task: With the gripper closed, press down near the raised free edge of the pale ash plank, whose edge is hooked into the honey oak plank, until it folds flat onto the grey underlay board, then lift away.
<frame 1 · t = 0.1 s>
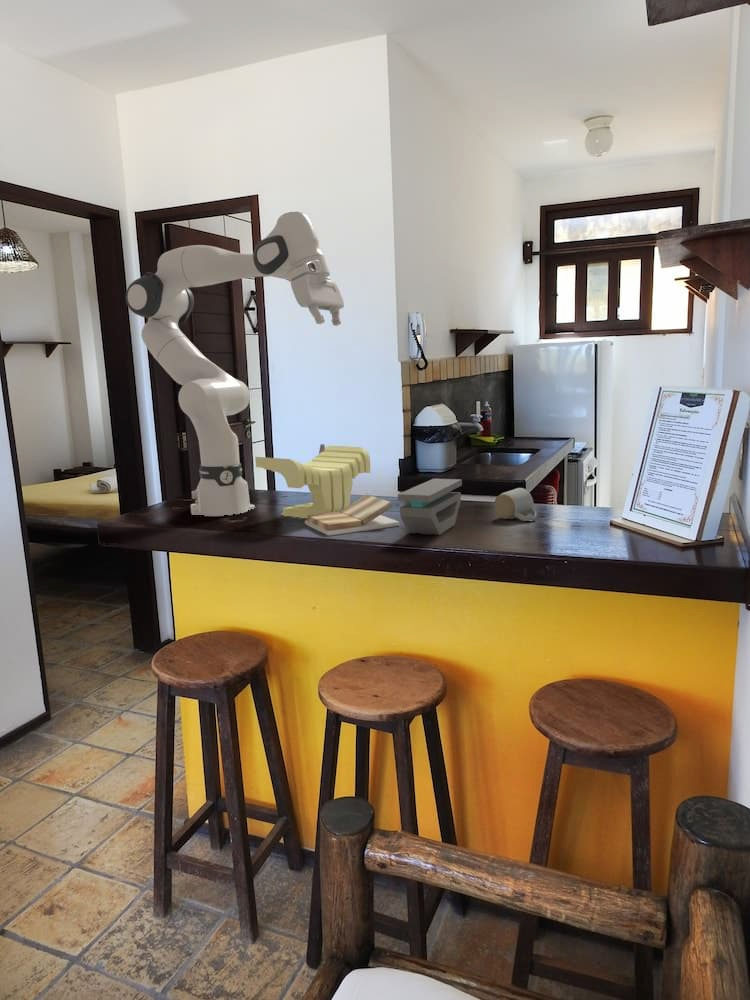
hand: (329, 324, 185), 52 cm above the countertop, tool tilted 20°, fingers open, 8 cm apart
underlay board: (351, 524, 186), on the countertop
squeeze bottle: (325, 502, 220), on the countertop
ash plank: (365, 509, 187), point 4 cm above the countertop, hinge at 25.0°
oak plank: (334, 527, 184), resting on underlay board
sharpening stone: (432, 529, 179), on the countertop
yellow ribbed sculpture: (317, 514, 202), on the countertop
ceramic mug: (517, 519, 188), on the countertop
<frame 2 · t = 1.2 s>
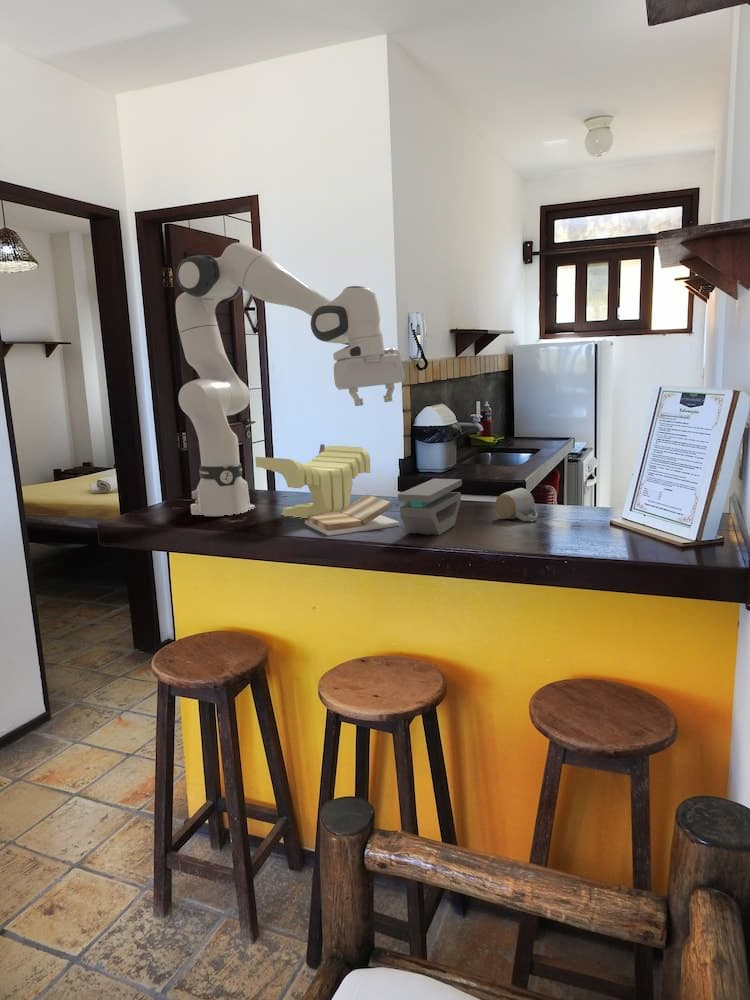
hand: (374, 403, 184), 31 cm above the countertop, tool pointing down, fingers open, 8 cm apart
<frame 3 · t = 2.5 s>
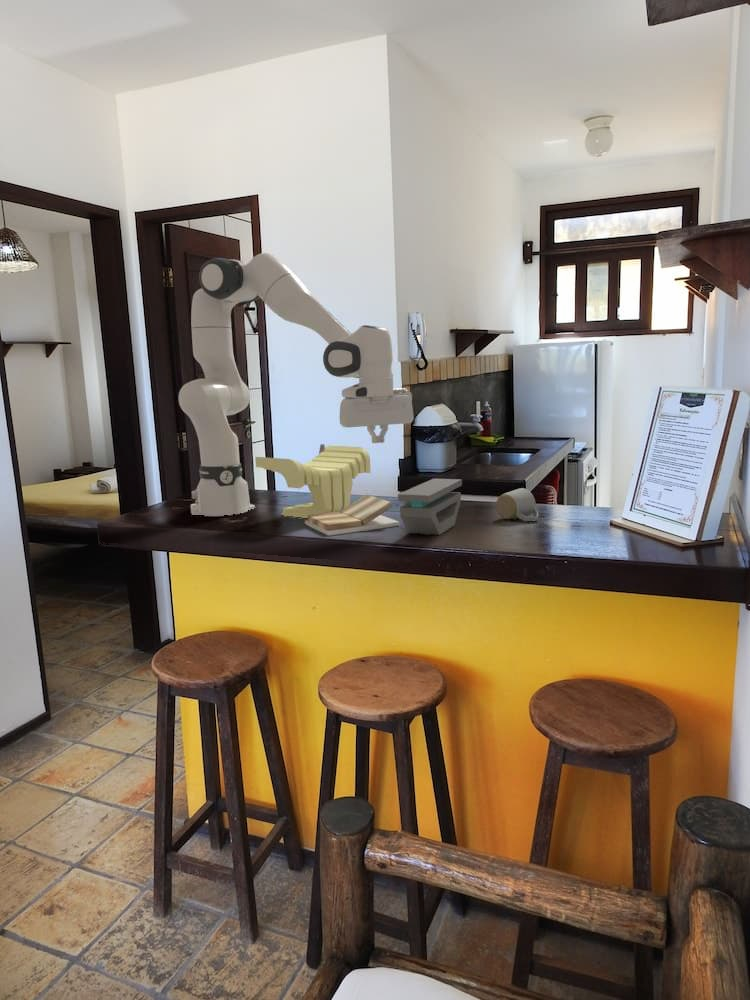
hand: (378, 442, 186), 21 cm above the countertop, tool pointing down, fingers closed
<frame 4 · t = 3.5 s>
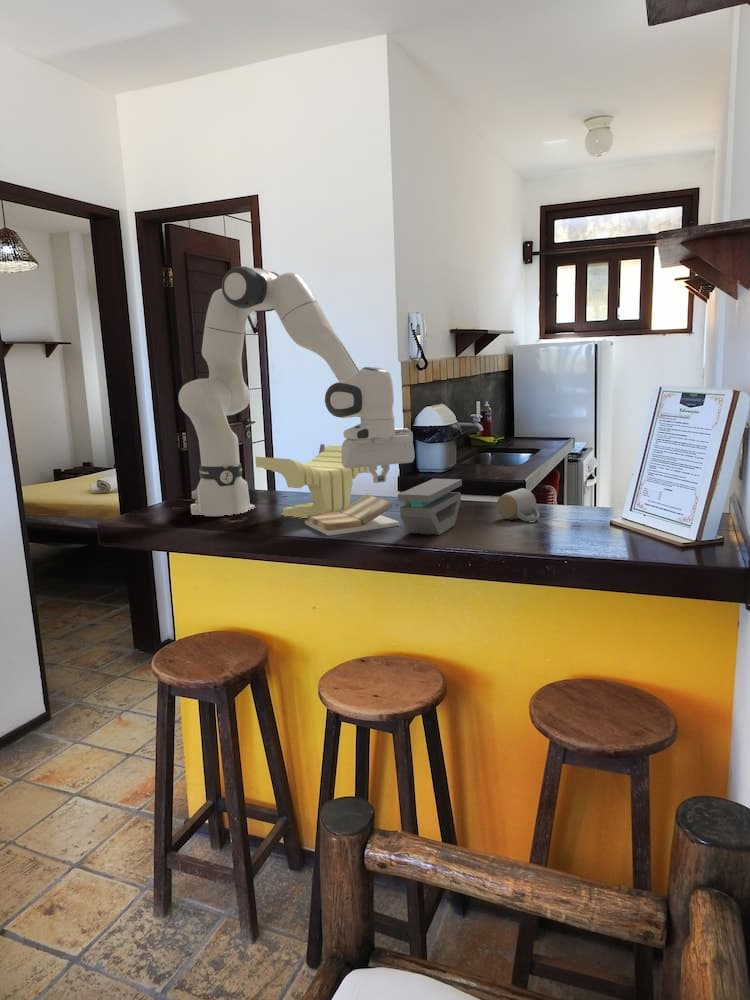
hand: (379, 482, 188), 11 cm above the countertop, tool pointing down, fingers closed
nothing on the countertop moved.
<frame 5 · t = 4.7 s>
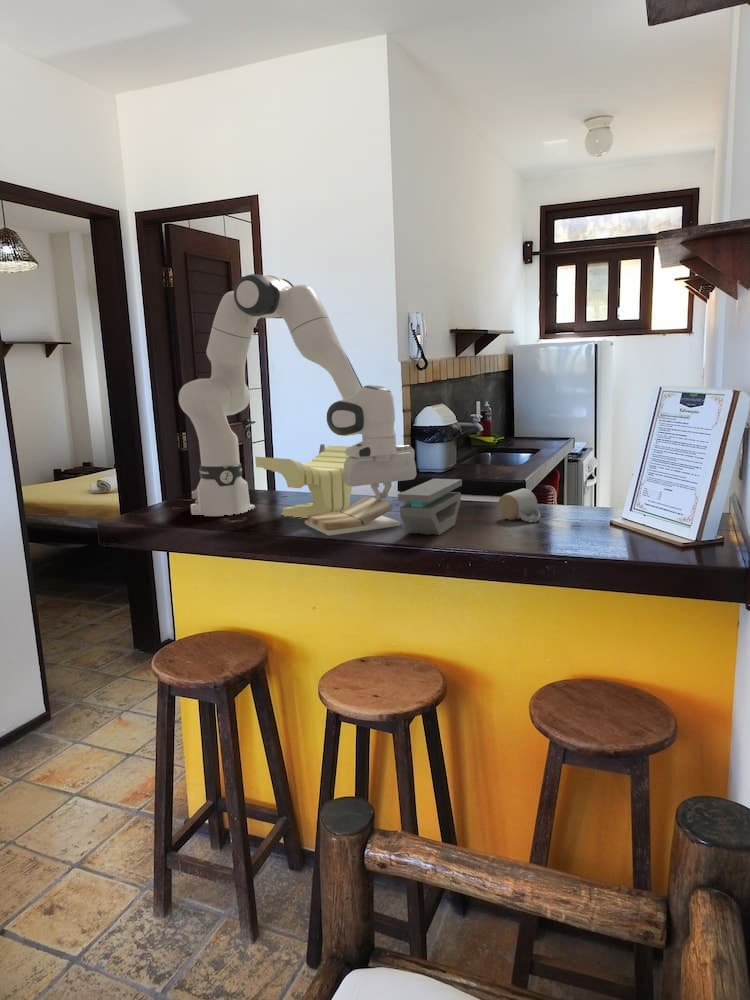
hand: (381, 499, 189), 6 cm above the countertop, tool pointing down, fingers closed
ash plank: (366, 509, 187), point 4 cm above the countertop, hinge at 21.9°, touching gripper
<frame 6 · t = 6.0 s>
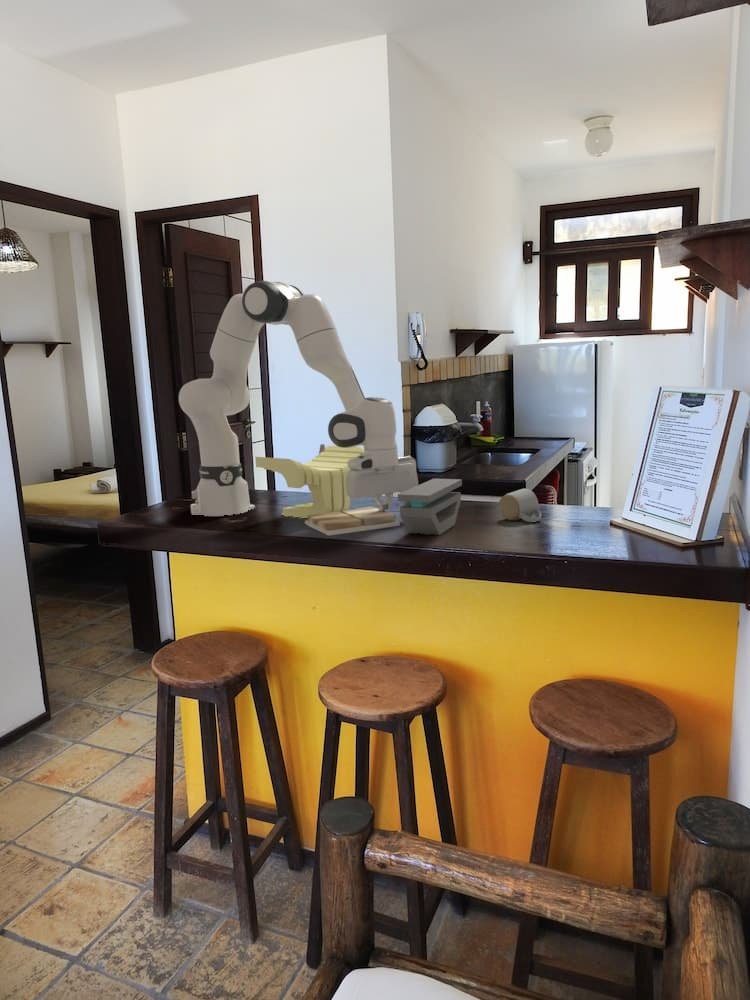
hand: (384, 510, 190), 3 cm above the countertop, tool pointing down, fingers closed, pressing on ash plank
ash plank: (368, 515, 188), point 2 cm above the countertop, hinge at 1.6°, touching gripper
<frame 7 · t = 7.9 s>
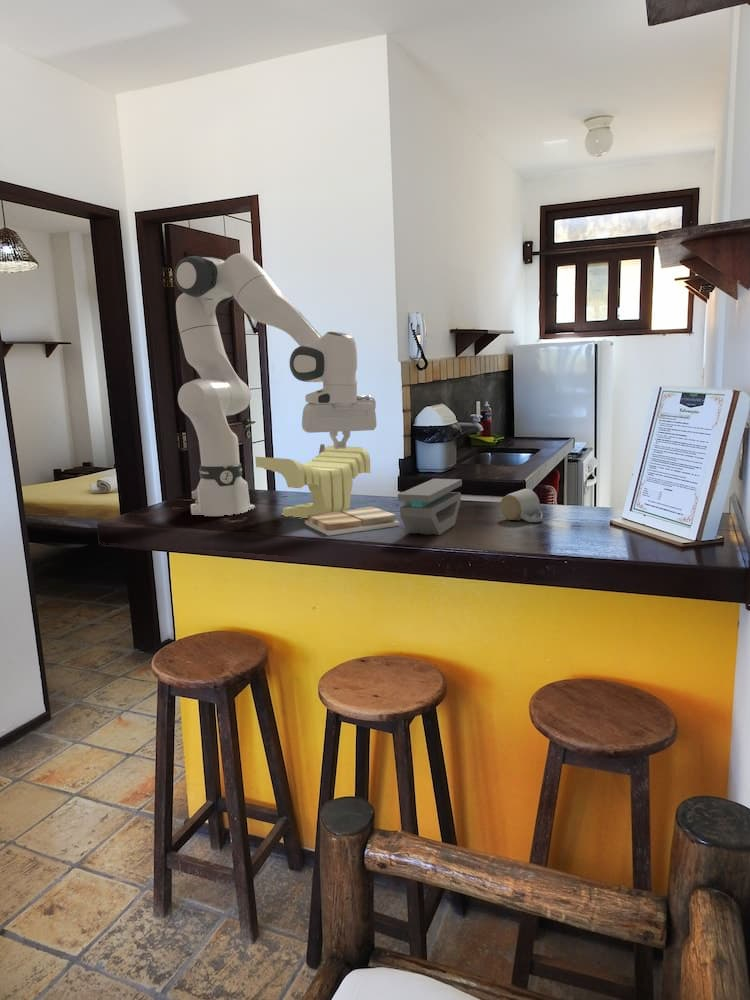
hand: (339, 448, 188), 20 cm above the countertop, tool pointing down, fingers closed
ash plank: (368, 515, 188), point 2 cm above the countertop, hinge at 1.5°
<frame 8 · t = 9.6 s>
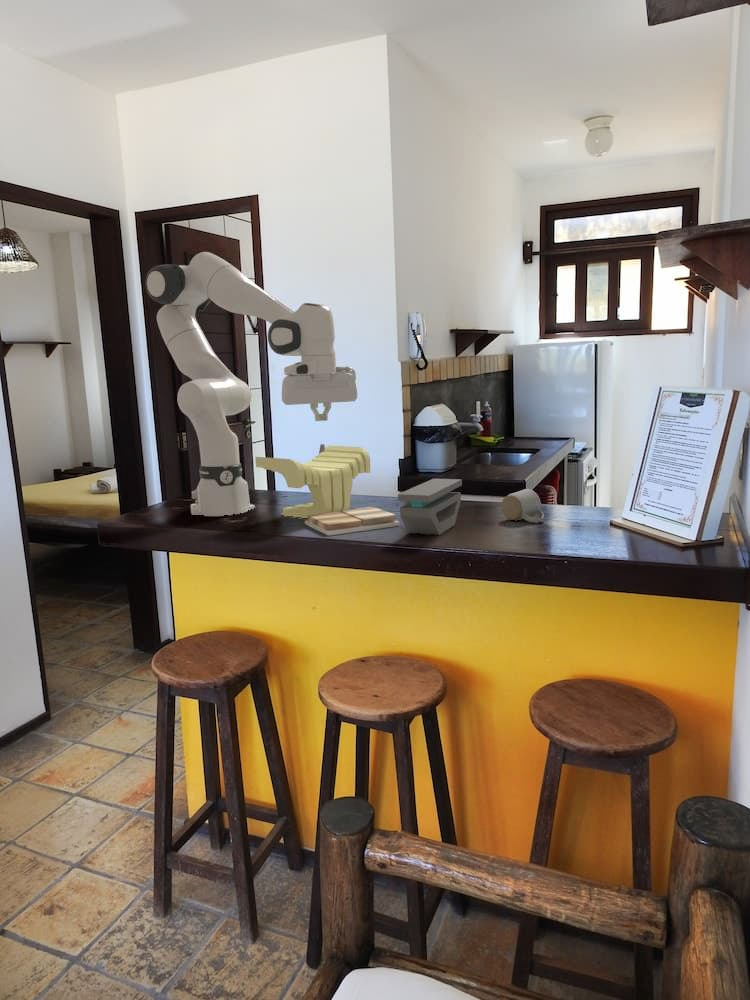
hand: (321, 420, 187), 27 cm above the countertop, tool pointing down, fingers closed
at the end: ash plank at +2° (first picture: +25°); the gripper is holding nothing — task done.
